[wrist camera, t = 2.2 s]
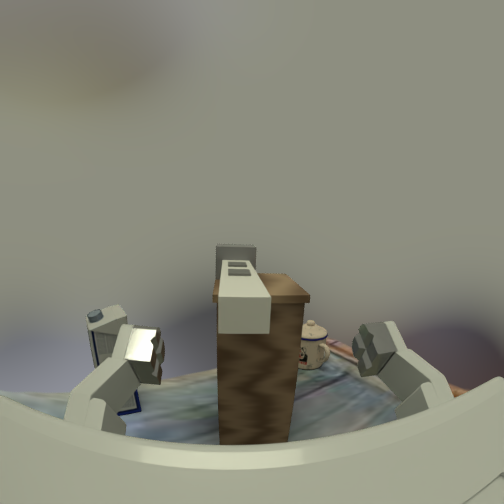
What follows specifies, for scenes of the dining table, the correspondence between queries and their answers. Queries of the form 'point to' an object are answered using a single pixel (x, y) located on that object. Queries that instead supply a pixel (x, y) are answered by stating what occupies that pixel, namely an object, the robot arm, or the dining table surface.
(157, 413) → the dining table surface
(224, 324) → the power strip
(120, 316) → the milk carton
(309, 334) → the teacup with lid
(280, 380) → the stand
